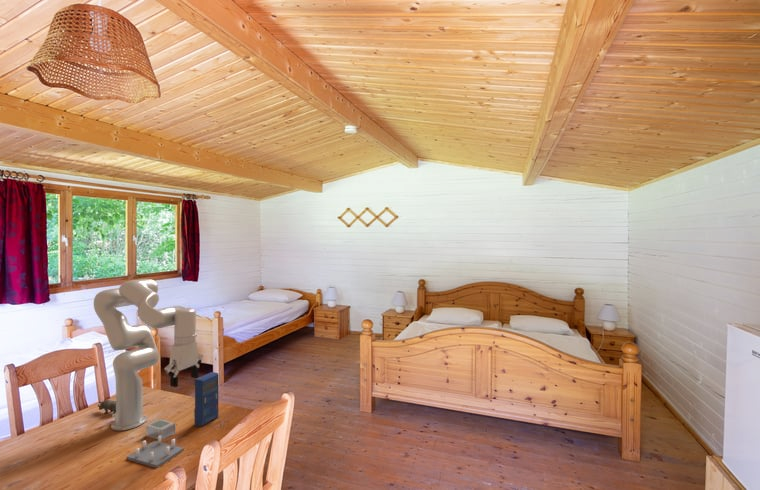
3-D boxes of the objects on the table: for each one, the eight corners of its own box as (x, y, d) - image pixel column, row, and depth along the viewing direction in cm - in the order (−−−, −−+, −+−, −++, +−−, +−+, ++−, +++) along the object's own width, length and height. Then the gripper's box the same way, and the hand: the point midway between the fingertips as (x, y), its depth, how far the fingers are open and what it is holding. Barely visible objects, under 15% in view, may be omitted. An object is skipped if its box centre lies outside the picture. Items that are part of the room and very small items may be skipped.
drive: (146, 436, 144) (146, 425, 144) (160, 429, 149) (160, 418, 149) (161, 441, 141) (161, 429, 141) (175, 433, 146) (175, 422, 146)
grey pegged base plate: (126, 459, 128) (126, 448, 128) (154, 443, 139) (154, 433, 139) (156, 468, 123) (156, 456, 123) (183, 450, 134) (183, 440, 134)
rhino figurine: (102, 408, 168) (102, 396, 168) (124, 412, 164) (124, 399, 164) (93, 412, 164) (93, 399, 164) (115, 416, 160) (115, 403, 160)
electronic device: (202, 427, 151) (202, 380, 151) (193, 424, 153) (193, 378, 153) (219, 417, 160) (219, 373, 160) (211, 415, 162) (211, 371, 161)
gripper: (195, 333, 151) (194, 373, 151) (158, 344, 135) (158, 388, 135) (209, 335, 149) (208, 375, 149) (173, 346, 132) (172, 391, 133)
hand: (184, 381), depth 142 cm, fingers open, 9 cm apart
